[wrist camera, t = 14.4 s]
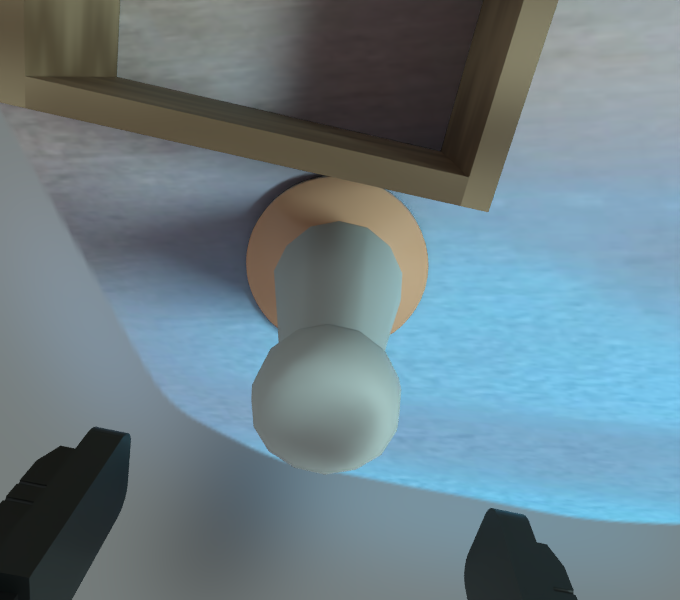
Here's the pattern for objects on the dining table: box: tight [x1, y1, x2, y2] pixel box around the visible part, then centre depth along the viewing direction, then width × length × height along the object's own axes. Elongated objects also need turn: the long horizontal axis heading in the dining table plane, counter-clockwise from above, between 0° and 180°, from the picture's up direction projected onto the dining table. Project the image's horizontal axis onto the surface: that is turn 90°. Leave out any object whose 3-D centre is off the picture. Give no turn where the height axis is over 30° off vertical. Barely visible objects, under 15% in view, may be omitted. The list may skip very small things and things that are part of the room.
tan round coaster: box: [246, 176, 428, 334], centre depth 26 cm, size 9×9×1 cm
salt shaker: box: [252, 221, 402, 474], centre depth 20 cm, size 6×6×13 cm
